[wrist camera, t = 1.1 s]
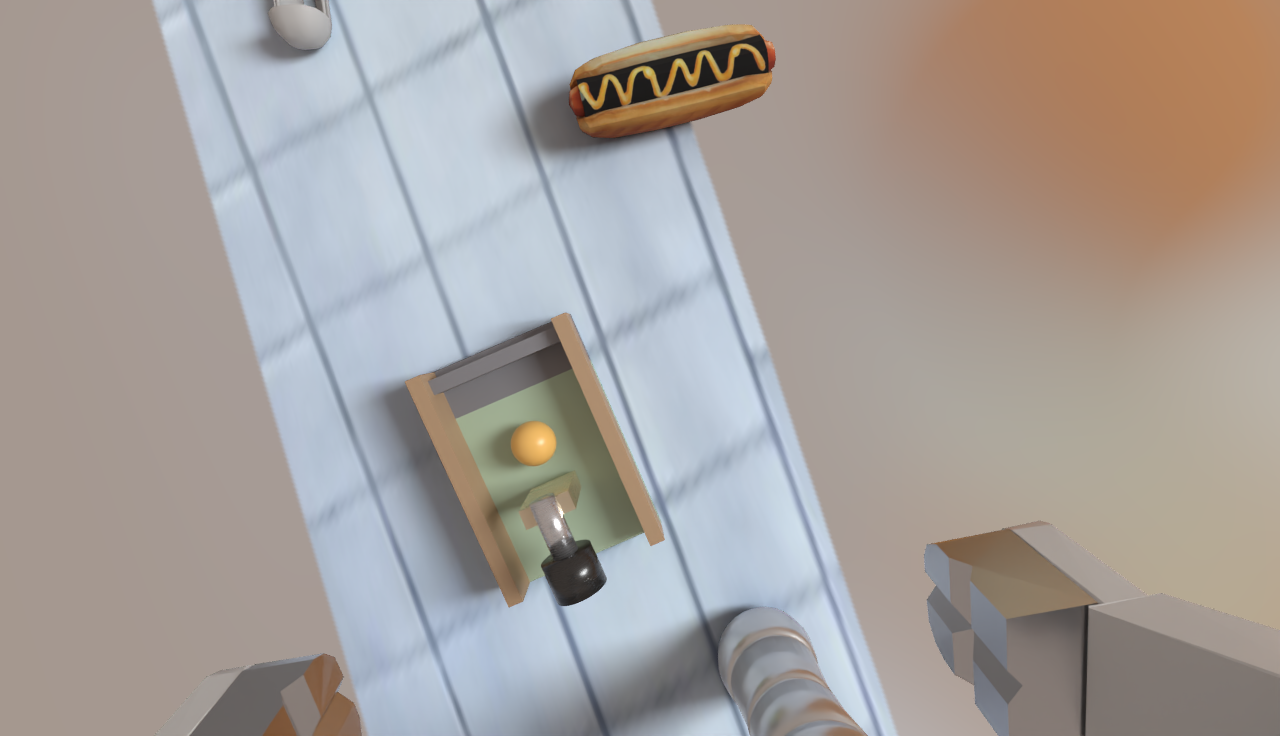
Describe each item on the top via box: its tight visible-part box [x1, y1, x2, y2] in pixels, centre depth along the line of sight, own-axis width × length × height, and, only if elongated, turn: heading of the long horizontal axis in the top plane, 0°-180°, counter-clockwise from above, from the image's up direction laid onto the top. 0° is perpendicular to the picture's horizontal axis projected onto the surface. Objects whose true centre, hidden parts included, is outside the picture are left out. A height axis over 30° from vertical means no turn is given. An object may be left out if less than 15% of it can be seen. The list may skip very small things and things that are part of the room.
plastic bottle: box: [718, 607, 868, 736], centre depth 33 cm, size 6×7×20 cm
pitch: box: [405, 313, 665, 607], centre depth 40 cm, size 16×11×4 cm
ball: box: [511, 421, 557, 466], centre depth 39 cm, size 3×3×3 cm
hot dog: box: [569, 25, 776, 138], centre depth 38 cm, size 5×13×5 cm, turn 104°
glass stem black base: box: [519, 470, 607, 606], centre depth 37 cm, size 6×3×7 cm, turn 23°
